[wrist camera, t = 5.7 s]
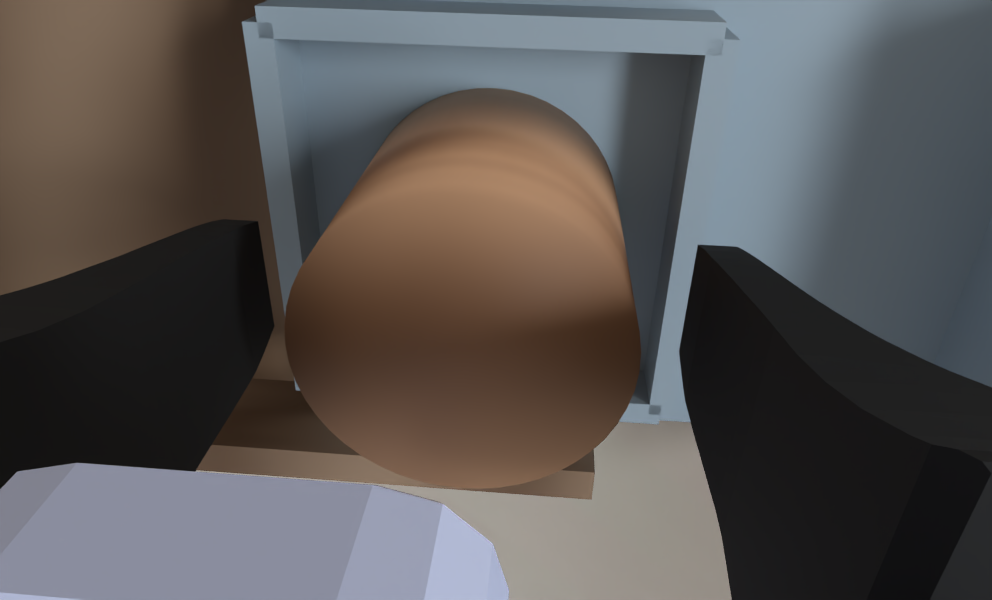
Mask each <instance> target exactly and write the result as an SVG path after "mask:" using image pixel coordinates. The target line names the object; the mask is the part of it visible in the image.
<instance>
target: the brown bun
mask: <svg viewBox="0 0 992 600" xmlns="http://www.w3.org/2000/svg"><path fill="white" fill-rule="evenodd" d="M284 330H285V346H286V351H287V355H288V360H289V364H290V367H291V370H292V373H293V375H294V378H295V381H296V383H297V385H298V387H299V389H300V391H301V393H302V395H303V397H304V398H305V400H306V401H307V403H308V404H309V406H310V407H311V409H312V410H313V411H314V413H315V414H316V416H317V417H318V418H319V419H320V420H321V421H322V422H323V424H324V425H325V426H326V427H327V428H328V429H329V430H330V431H331V432H332V433H333V434H334V435H335V436H337V437H338V438H339V439H340V440H341V441H342V442H343V443H344V444H346V445H347V446H348V447H350V448H351V449H353V450H354V451H355V452H357V453H358V454H360V455H361V456H363V457H365V458H366V459H368V460H370V461H372V462H373V463H375V464H377V465H379V466H381V467H383V468H385V469H387V470H390V471H392V472H394V473H396V474H399V475H402V476H405V477H408V478H411V479H414V480H417V481H421V482H425V483H429V484H434V485H438V486H446V487H453V488H468V489H485V488H500V487H506V486H513V485H519V484H523V483H526V482H530V481H534V480H538V479H541V478H543V477H546V476H548V475H551V474H553V473H556V472H558V471H560V470H562V469H564V468H566V467H568V466H569V465H571V464H573V463H575V462H577V461H578V460H579V459H581V458H582V457H584V456H585V455H587V454H588V453H589V452H591V451H592V450H593V449H594V448H595V447H596V446H597V445H599V444H600V443H601V442H602V441H603V440H604V439H605V438H606V437H607V436H608V435H609V433H610V432H611V431H612V430H613V429H614V427H615V426H616V425H617V424H618V422H619V421H620V419H621V417H622V416H623V414H624V412H625V411H626V409H627V407H628V405H629V403H630V400H631V398H632V396H633V393H634V391H635V388H636V384H637V380H638V376H639V372H640V360H641V343H640V331H639V325H638V319H637V313H636V307H635V301H634V296H633V290H632V284H631V278H630V272H629V266H628V260H627V254H626V249H625V243H624V237H623V231H622V225H621V219H620V213H619V207H618V202H617V196H616V190H615V186H614V182H613V177H612V174H611V172H610V169H609V167H608V164H607V161H606V160H605V158H604V156H603V154H602V152H601V151H600V149H599V147H598V146H597V144H596V143H595V142H594V140H593V139H592V138H591V136H590V135H589V134H588V133H587V132H586V131H585V130H584V129H583V128H582V127H581V126H580V125H579V124H578V123H577V122H576V121H575V120H574V119H573V118H571V117H570V116H569V115H567V114H566V113H565V112H563V111H562V110H560V109H559V108H557V107H555V106H553V105H552V104H550V103H548V102H546V101H544V100H541V99H539V98H536V97H534V96H532V95H528V94H525V93H521V92H517V91H513V90H506V89H498V88H476V89H469V90H462V91H457V92H454V93H450V94H447V95H443V96H441V97H438V98H436V99H434V100H432V101H429V102H427V103H425V104H424V105H422V106H421V107H419V108H417V109H416V110H414V111H413V112H411V113H410V114H409V115H408V116H407V117H405V118H404V119H403V120H402V121H401V122H400V123H399V124H398V125H397V126H396V127H395V128H394V129H393V130H392V131H391V133H390V134H389V135H388V137H387V138H386V140H385V141H384V143H383V144H382V146H381V147H380V149H379V150H378V152H377V153H376V155H375V156H374V158H373V159H372V161H371V162H370V164H369V165H368V167H367V168H366V170H365V171H364V173H363V174H362V176H361V177H360V179H359V180H358V182H357V183H356V185H355V186H354V188H353V189H352V191H351V192H350V194H349V195H348V197H347V198H346V200H345V201H344V203H343V204H342V206H341V207H340V209H339V210H338V212H337V213H336V215H335V216H334V218H333V219H332V221H331V222H330V224H329V225H328V227H327V228H326V230H325V231H324V233H323V234H322V236H321V237H320V239H319V241H318V242H317V244H316V245H315V247H314V248H313V250H312V251H311V253H310V254H309V256H308V257H307V259H306V260H305V262H304V263H303V265H302V266H301V268H300V269H299V272H298V274H297V276H296V278H295V280H294V283H293V285H292V287H291V290H290V294H289V298H288V302H287V305H286V313H285V323H284Z"/></svg>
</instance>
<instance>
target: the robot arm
mask: <svg viewBox="0 0 992 600" xmlns="http://www.w3.org/2000/svg"><path fill="white" fill-rule="evenodd" d="M273 329H274V320H273V313H272V307H271V300H270V294H269V288H268V281H267V275H266V268H265V262H264V256H263V249H262V243H261V236H260V230H259V224H258V221H247V220H229V219H221V220H216V221H211V222H208V223H204V224H201V225H198V226H195V227H192V228H190V229H187V230H184V231H181V232H179V233H176V234H174V235H171V236H168V237H166V238H163V239H161V240H158V241H156V242H153V243H151V244H148V245H146V246H143V247H141V248H138V249H135V250H133V251H130V252H128V253H125V254H123V255H120V256H118V257H115V258H112V259H110V260H107V261H104V262H101V263H98V264H96V265H93V266H90V267H87V268H85V269H82V270H79V271H76V272H74V273H71V274H68V275H65V276H63V277H60V278H57V279H54V280H51V281H48V282H44V283H41V284H38V285H35V286H31V287H28V288H25V289H21V290H18V291H14V292H10V293H7V294H3V295H0V600H508V597H509V589H508V586H507V583H506V580H505V577H504V574H503V572H502V569H501V566H500V563H499V560H498V557H497V554H496V551H495V548H494V546H493V543H492V542H490V541H489V540H488V539H487V538H485V537H484V536H483V535H481V534H480V533H479V532H478V531H476V530H475V529H474V528H473V527H471V526H470V525H469V524H468V523H466V522H465V521H464V520H463V519H461V518H460V517H459V516H457V515H456V514H455V513H454V512H452V511H451V510H450V509H449V508H447V507H446V506H445V505H444V504H442V503H440V502H437V501H433V500H430V499H426V498H422V497H419V496H415V495H411V494H407V493H404V492H400V491H396V490H393V489H389V488H385V487H382V486H378V485H367V484H354V483H341V482H327V481H314V480H301V479H287V478H274V477H260V476H247V475H234V474H220V473H207V472H195V471H196V469H197V468H198V466H199V464H200V463H201V461H202V460H203V458H204V456H205V455H206V453H207V451H208V450H209V448H210V447H211V445H212V443H213V442H214V440H215V439H216V437H217V435H218V434H219V432H220V431H221V429H222V427H223V426H224V424H225V422H226V421H227V419H228V418H229V416H230V414H231V413H232V411H233V410H234V408H235V406H236V405H237V403H238V401H239V400H240V398H241V396H242V395H243V393H244V391H245V390H246V388H247V386H248V385H249V383H250V381H251V380H252V378H253V376H254V374H255V373H256V371H257V368H258V366H259V364H260V361H261V359H262V357H263V354H264V352H265V349H266V347H267V344H268V342H269V339H270V336H271V334H272V331H273ZM679 356H680V365H681V374H682V382H683V390H684V397H685V403H686V406H687V410H688V414H689V417H690V421H691V425H692V428H693V432H694V436H695V439H696V443H697V446H698V450H699V453H700V457H701V460H702V464H703V467H704V471H705V474H706V478H707V481H708V485H709V488H710V492H711V495H712V499H713V502H714V506H715V509H716V513H717V518H718V522H719V526H720V531H721V535H722V540H723V546H724V553H725V559H726V565H727V571H728V578H729V584H730V590H731V597H732V600H992V387H989V386H987V385H984V384H982V383H979V382H977V381H974V380H972V379H969V378H967V377H964V376H962V375H959V374H956V373H954V372H951V371H949V370H947V369H944V368H942V367H940V366H938V365H935V364H933V363H931V362H928V361H926V360H924V359H922V358H920V357H918V356H916V355H914V354H912V353H910V352H908V351H906V350H904V349H902V348H900V347H897V346H895V345H893V344H891V343H889V342H887V341H885V340H883V339H882V338H880V337H878V336H876V335H874V334H872V333H870V332H869V331H867V330H865V329H863V328H862V327H860V326H858V325H857V324H855V323H853V322H852V321H850V320H848V319H847V318H845V317H843V316H842V315H840V314H838V313H837V312H835V311H833V310H832V309H830V308H829V307H827V306H826V305H824V304H823V303H821V302H819V301H818V300H816V299H815V298H813V297H812V296H810V295H809V294H807V293H806V292H805V291H803V290H802V289H800V288H799V287H797V286H796V285H794V284H793V283H791V282H790V281H789V280H787V279H786V278H784V277H783V276H782V275H780V274H779V273H777V272H776V271H774V270H773V269H772V268H770V267H769V266H767V265H766V264H764V263H763V262H762V261H760V260H759V259H757V258H756V257H754V256H753V255H751V254H749V253H748V252H746V251H744V250H743V249H741V248H739V247H734V246H716V245H698V247H697V252H696V258H695V263H694V269H693V275H692V280H691V286H690V292H689V297H688V303H687V309H686V314H685V320H684V326H683V331H682V337H681V342H680V348H679Z"/></svg>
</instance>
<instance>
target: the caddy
mask: <svg viewBox="0 0 992 600" xmlns="http://www.w3.org/2000/svg"><path fill="white" fill-rule="evenodd" d="M265 1H266V0H0V295H3V294H7V293H10V292H14V291H18V290H21V289H25V288H28V287H31V286H35V285H38V284H41V283H44V282H48V281H51V280H54V279H57V278H60V277H63V276H65V275H68V274H71V273H74V272H76V271H79V270H82V269H85V268H87V267H90V266H93V265H96V264H98V263H101V262H104V261H107V260H110V259H112V258H115V257H118V256H120V255H123V254H125V253H128V252H130V251H133V250H135V249H138V248H141V247H143V246H146V245H148V244H151V243H153V242H156V241H158V240H161V239H163V238H166V237H168V236H171V235H174V234H176V233H179V232H181V231H184V230H187V229H190V228H192V227H195V226H198V225H201V224H204V223H208V222H211V221H216V220H221V219H229V220H247V221H258V224H259V230H260V236H261V243H262V249H263V256H264V262H265V268H266V275H267V281H268V288H269V294H270V300H271V307H272V313H273V320H274V329H273V331H272V334H271V336H270V339H269V342H268V344H267V347H266V349H265V352H264V354H263V357H262V359H261V361H260V364H259V366H258V368H257V371H256V373H255V374H254V376H253V378H252V380H251V381H250V383H249V385H248V386H247V388H246V390H245V391H244V393H243V395H242V396H241V398H240V400H239V401H238V403H237V405H236V406H235V408H234V410H233V411H232V413H231V414H230V416H229V418H228V419H227V421H226V422H225V424H224V426H223V427H222V429H221V431H220V432H219V434H218V435H217V437H216V439H215V440H214V442H213V443H212V445H211V447H210V448H209V450H208V451H207V453H206V455H205V456H204V458H203V460H202V461H201V463H200V464H199V466H198V468H197V469H196V470H203V471H216V472H230V473H243V474H256V475H270V476H283V477H297V478H310V479H323V480H337V481H350V482H364V483H377V484H390V485H404V486H417V487H430V488H444V489H457V490H471V491H484V492H497V493H511V494H524V495H538V496H551V497H564V498H578V499H592V490H593V482H594V474H595V470H594V451H593V450H592V451H591V452H589V453H588V454H587V455H585V456H584V457H582V458H581V459H579V460H578V461H577V462H575V463H573V464H571V465H569V466H568V467H566V468H564V469H562V470H560V471H558V472H556V473H553V474H551V475H548V476H546V477H543V478H541V479H538V480H534V481H530V482H526V483H523V484H519V485H513V486H506V487H500V488H485V489H468V488H453V487H446V486H438V485H434V484H429V483H425V482H421V481H417V480H414V479H411V478H408V477H405V476H402V475H399V474H396V473H394V472H392V471H390V470H387V469H385V468H383V467H381V466H379V465H377V464H375V463H373V462H372V461H370V460H368V459H366V458H365V457H363V456H361V455H360V454H358V453H357V452H355V451H354V450H353V449H351V448H350V447H348V446H347V445H346V444H344V443H343V442H342V441H341V440H340V439H339V438H338V437H337V436H335V435H334V434H333V433H332V432H331V431H330V430H329V429H328V428H327V427H326V426H325V425H324V424H323V422H322V421H321V420H320V419H319V418H318V417H317V416H316V414H315V413H314V411H313V410H312V409H311V407H310V406H309V404H308V403H307V401H306V400H305V398H304V397H303V395H302V393H301V391H297V390H296V388H295V381H294V375H293V373H292V370H291V367H290V364H289V360H288V355H287V351H286V346H285V330H284V323H285V313H284V306H283V299H282V293H281V286H280V279H279V272H278V265H277V258H276V252H275V245H274V238H273V231H272V224H271V218H270V211H269V204H268V197H267V190H266V183H265V177H264V170H263V163H262V156H261V149H260V142H259V136H258V129H257V122H256V115H255V108H254V102H253V95H252V88H251V81H250V74H249V67H248V61H247V54H246V47H245V40H244V33H243V26H242V21H244V20H247V19H249V18H251V17H253V16H256V13H255V5H258V4H260V3H263V2H265Z"/></svg>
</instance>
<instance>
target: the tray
mask: <svg viewBox="0 0 992 600" xmlns="http://www.w3.org/2000/svg"><path fill="white" fill-rule="evenodd" d="M255 13H256V16H253V17H251V18H249V19H247V20H244V21H242V26H243V33H244V40H245V47H246V54H247V61H248V67H249V74H250V81H251V88H252V95H253V102H254V108H255V115H256V122H257V129H258V136H259V142H260V149H261V156H262V163H263V170H264V177H265V183H266V190H267V197H268V204H269V211H270V218H271V224H272V231H273V238H274V245H275V252H276V258H277V265H278V272H279V279H280V286H281V293H282V299H283V306H284V313H286V305H287V302H288V298H289V294H290V290H291V287H292V285H293V283H294V280H295V278H296V276H297V274H298V272H299V269H300V268H301V266H302V265H303V263H304V262H305V260H306V259H307V257H308V256H309V254H310V253H311V251H312V250H313V248H314V247H315V245H316V244H317V242H318V241H319V239H320V237H321V236H322V234H323V233H324V231H325V230H326V228H327V227H328V225H329V224H330V222H331V221H332V219H333V218H334V216H335V215H336V213H337V212H338V210H339V209H340V207H341V206H342V204H343V203H344V201H345V200H346V198H347V197H348V195H349V194H350V192H351V191H352V189H353V188H354V186H355V185H356V183H357V182H358V180H359V179H360V177H361V176H362V174H363V173H364V171H365V170H366V168H367V167H368V165H369V164H370V162H371V161H372V159H373V158H374V156H375V155H376V153H377V152H378V150H379V149H380V147H381V146H382V144H383V143H384V141H385V140H386V138H387V137H388V135H389V134H390V133H391V131H392V130H393V129H394V128H395V127H396V126H397V125H398V124H399V123H400V122H401V121H402V120H403V119H404V118H405V117H407V116H408V115H409V114H410V113H411V112H413V111H414V110H416V109H417V108H419V107H421V106H422V105H424V104H425V103H427V102H429V101H432V100H434V99H436V98H438V97H441V96H443V95H447V94H450V93H454V92H457V91H462V90H469V89H476V88H498V89H506V90H513V91H517V92H521V93H525V94H528V95H532V96H534V97H536V98H539V99H541V100H544V101H546V102H548V103H550V104H552V105H553V106H555V107H557V108H559V109H560V110H562V111H563V112H565V113H566V114H567V115H569V116H570V117H571V118H573V119H574V120H575V121H576V122H577V123H578V124H579V125H580V126H581V127H582V128H583V129H584V130H585V131H586V132H587V133H588V134H589V135H590V136H591V138H592V139H593V140H594V142H595V143H596V144H597V146H598V147H599V149H600V151H601V152H602V154H603V156H604V158H605V160H606V161H607V164H608V167H609V169H610V172H611V174H612V177H613V182H614V186H615V190H616V196H617V202H618V207H619V213H620V219H621V225H622V231H623V237H624V243H625V249H626V254H627V260H628V266H629V272H630V278H631V284H632V290H633V296H634V301H635V307H636V313H637V319H638V325H639V331H640V343H641V360H640V372H639V376H638V380H637V384H636V388H635V391H634V393H633V396H632V398H631V400H630V403H629V405H628V407H627V409H626V411H625V412H624V414H623V416H622V417H621V419H620V421H619V422H632V423H646V424H659V420H665V421H680V422H691V421H690V417H689V414H688V410H687V406H686V403H685V397H684V390H683V382H682V374H681V365H680V356H679V348H680V342H681V337H682V331H683V326H684V320H685V314H686V309H687V303H688V297H689V292H690V286H691V280H692V275H693V269H694V263H695V258H696V252H697V247H698V245H716V246H734V247H739V248H741V249H743V250H744V251H746V252H748V253H749V254H751V255H753V256H754V257H756V258H757V259H759V260H760V261H762V262H763V263H764V264H766V265H767V266H769V267H770V268H772V269H773V270H774V271H776V272H777V273H779V274H780V275H782V276H783V277H784V278H786V279H787V280H789V281H790V282H791V283H793V284H794V285H796V286H797V287H799V288H800V289H802V290H803V291H805V292H806V293H807V294H809V295H810V296H812V297H813V298H815V299H816V300H818V301H819V302H821V303H823V304H824V305H826V306H827V307H829V308H830V309H832V310H833V311H835V312H837V313H838V314H840V315H842V316H843V317H845V318H847V319H848V320H850V321H852V322H853V323H855V324H857V325H858V326H860V327H862V328H863V329H865V330H867V331H869V332H870V333H872V334H874V335H876V336H878V337H880V338H882V339H883V340H885V341H887V342H889V343H891V344H893V345H895V346H897V347H900V348H902V349H904V350H906V351H908V352H910V353H912V354H914V355H916V356H918V357H920V358H922V359H924V360H926V361H928V362H931V363H933V364H935V365H938V366H940V367H942V368H944V369H947V370H949V371H951V372H954V373H956V374H959V375H962V376H964V377H967V378H969V379H972V380H974V381H977V382H979V383H982V384H984V385H987V386H989V387H992V0H266V1H265V2H263V3H260V4H258V5H255ZM294 381H295V378H294ZM295 388H296V390H297V391H300V389H299V387H298V385H297V383H296V381H295Z"/></svg>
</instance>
